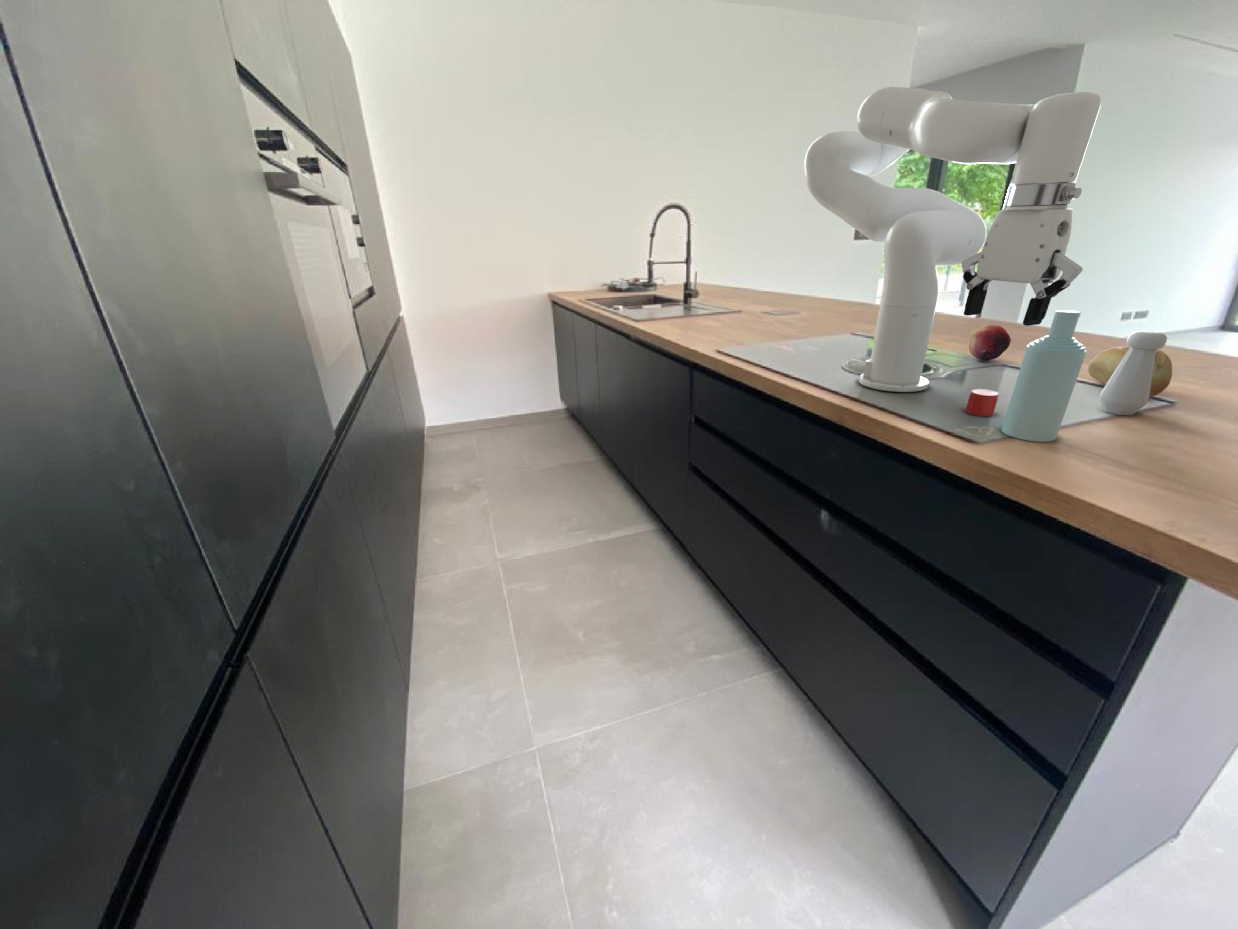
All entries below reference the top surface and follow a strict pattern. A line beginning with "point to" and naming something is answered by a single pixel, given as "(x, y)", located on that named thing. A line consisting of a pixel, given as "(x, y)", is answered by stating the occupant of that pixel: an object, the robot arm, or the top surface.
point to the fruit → (989, 342)
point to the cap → (982, 402)
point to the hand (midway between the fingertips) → (1000, 319)
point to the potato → (1111, 358)
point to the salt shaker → (1132, 375)
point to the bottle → (1045, 382)
